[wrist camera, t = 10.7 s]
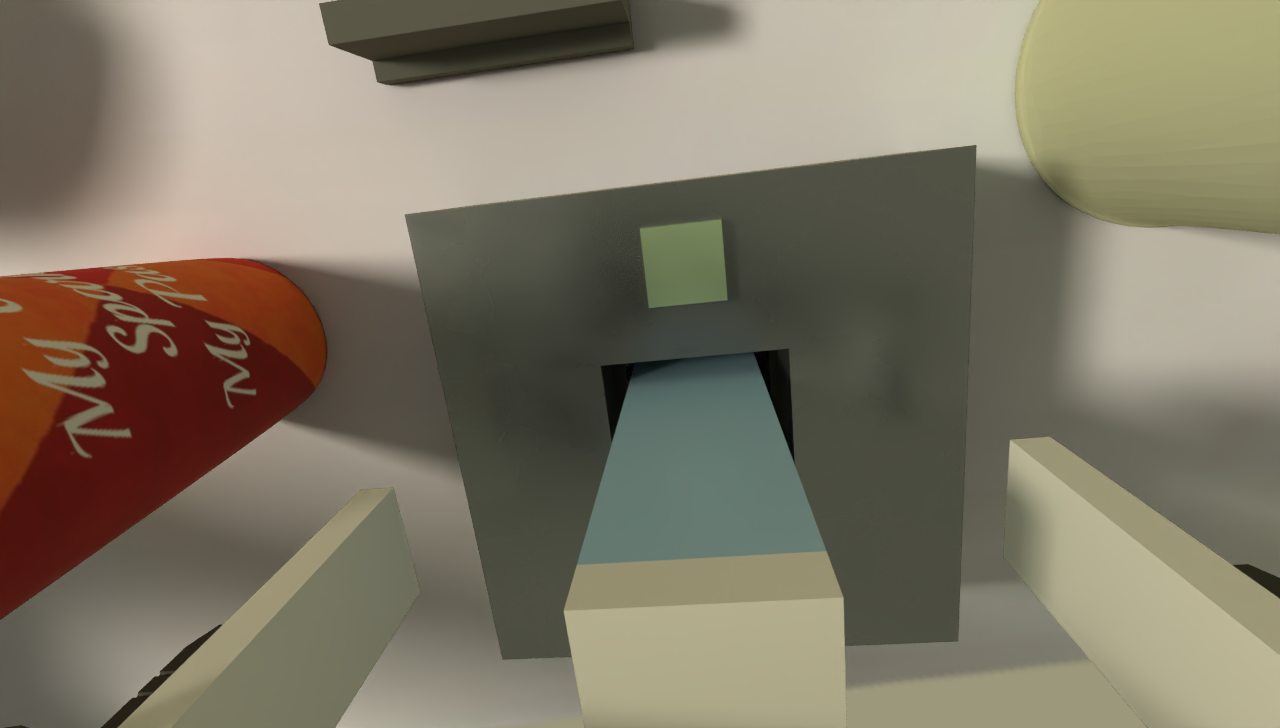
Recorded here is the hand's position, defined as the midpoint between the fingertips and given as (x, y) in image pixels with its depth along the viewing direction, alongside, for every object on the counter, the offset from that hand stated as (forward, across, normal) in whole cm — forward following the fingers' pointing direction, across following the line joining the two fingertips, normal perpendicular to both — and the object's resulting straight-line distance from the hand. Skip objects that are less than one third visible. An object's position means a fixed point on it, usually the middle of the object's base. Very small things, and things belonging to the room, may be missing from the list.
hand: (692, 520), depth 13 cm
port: (+9, 0, 0) cm, 9 cm away
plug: (+9, 0, 0) cm, 9 cm away
